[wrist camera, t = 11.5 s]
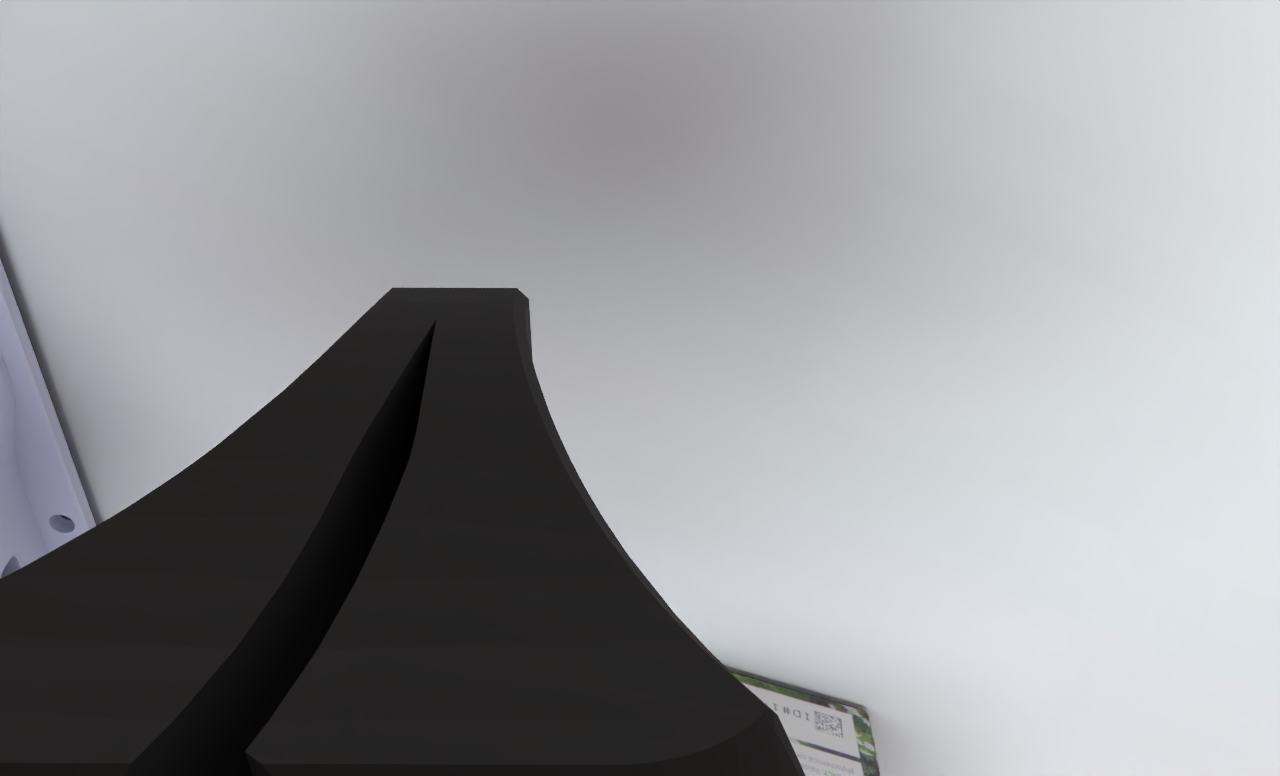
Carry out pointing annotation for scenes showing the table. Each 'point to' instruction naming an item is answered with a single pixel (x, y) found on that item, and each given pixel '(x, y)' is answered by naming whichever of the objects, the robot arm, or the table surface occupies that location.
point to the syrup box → (821, 731)
